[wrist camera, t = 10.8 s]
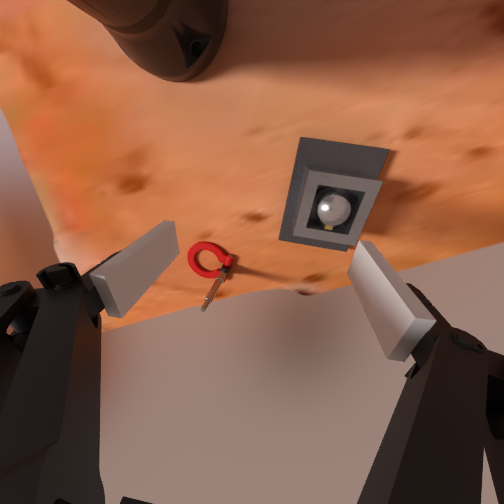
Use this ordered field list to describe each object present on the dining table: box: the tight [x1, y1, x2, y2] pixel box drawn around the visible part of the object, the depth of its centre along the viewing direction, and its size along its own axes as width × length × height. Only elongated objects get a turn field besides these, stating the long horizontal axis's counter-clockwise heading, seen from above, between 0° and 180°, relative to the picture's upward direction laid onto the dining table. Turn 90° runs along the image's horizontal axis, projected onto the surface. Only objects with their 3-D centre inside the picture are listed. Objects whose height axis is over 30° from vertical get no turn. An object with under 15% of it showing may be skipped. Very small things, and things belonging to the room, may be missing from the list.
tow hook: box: [187, 242, 234, 312], centre depth 36 cm, size 8×13×9 cm
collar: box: [292, 166, 383, 246], centre depth 29 cm, size 9×9×5 cm
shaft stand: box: [279, 137, 390, 252], centre depth 29 cm, size 16×12×7 cm
